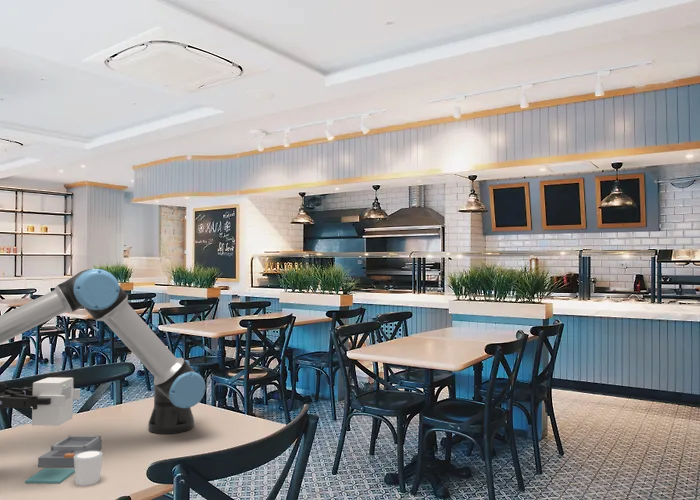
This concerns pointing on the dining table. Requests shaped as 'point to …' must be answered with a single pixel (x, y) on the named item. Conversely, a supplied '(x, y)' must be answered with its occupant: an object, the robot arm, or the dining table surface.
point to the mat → (51, 475)
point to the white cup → (87, 467)
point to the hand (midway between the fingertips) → (71, 397)
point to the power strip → (69, 450)
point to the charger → (53, 413)
